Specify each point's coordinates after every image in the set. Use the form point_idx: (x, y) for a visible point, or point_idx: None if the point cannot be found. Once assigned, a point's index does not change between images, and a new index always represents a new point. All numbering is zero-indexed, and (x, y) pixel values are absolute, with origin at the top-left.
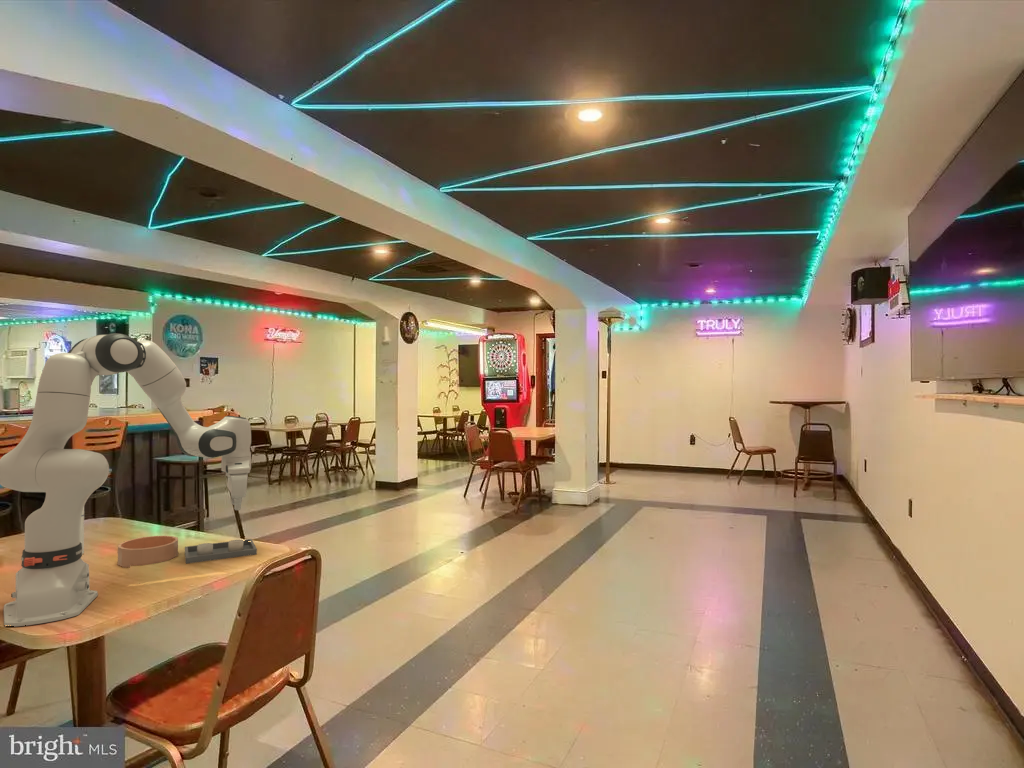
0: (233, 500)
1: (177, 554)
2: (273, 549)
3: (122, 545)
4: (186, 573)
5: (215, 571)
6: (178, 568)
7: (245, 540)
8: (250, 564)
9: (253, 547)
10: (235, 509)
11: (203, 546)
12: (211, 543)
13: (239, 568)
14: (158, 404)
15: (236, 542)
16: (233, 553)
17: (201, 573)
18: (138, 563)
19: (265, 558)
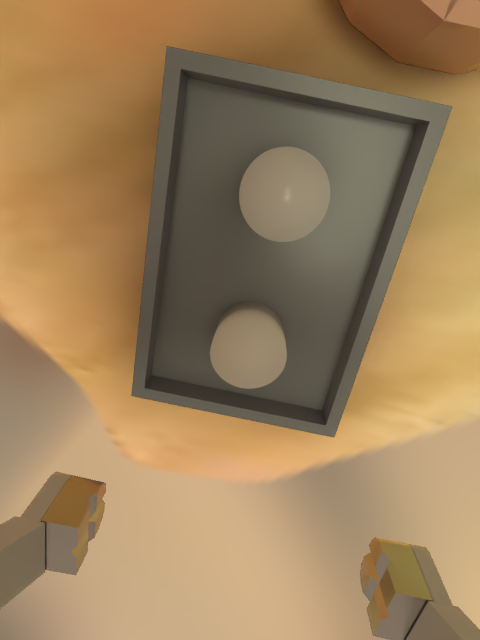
0: (386, 591)
1: (398, 52)
2: (212, 456)
3: None
4: (38, 31)
5: (5, 170)
6: (158, 11)
7: (331, 410)
8: (41, 322)
9: (165, 393)
10: (51, 477)
11: (256, 179)
12: (297, 238)
13: (4, 269)
14: None
15: (223, 350)
16: (142, 299)
17: (2, 102)
18: None
19: (98, 392)
